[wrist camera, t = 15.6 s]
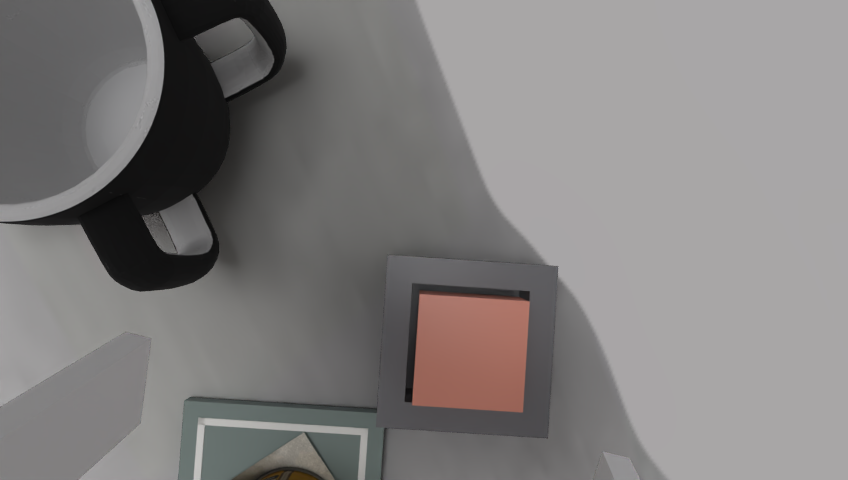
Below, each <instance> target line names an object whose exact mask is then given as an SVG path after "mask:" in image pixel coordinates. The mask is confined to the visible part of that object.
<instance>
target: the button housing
mask: <svg viewBox="0 0 848 480" xmlns="http://www.w3.org/2000/svg"><path fill="white" fill-rule="evenodd" d="M557 278H558V266H548V265H535V264H521V263H506V262H491V261H476V260H461V259H446V258H432V257H417V256H402V255H388V257H387V271H386V286H385V300H384V315H383V329H382V344H381V358H380V373H379V387H378V402H377V416H376V427H379V428H395V429H410V430H426V431H441V432H457V433H472V434H488V435H503V436H519V437H534V438H548V426H549V409H550V393H551V376H552V360H553V343H554V327H555V311H556V294H557ZM419 290H425V291H440V292H455V293H470V294H485V295H500V296H515V297H520V298H523V299H525V300H527V301H530V306H529V322H528V338H527V354H526V370H525V386H524V403H523V412H507V411H492V410H476V409H461V408H446V407H430V406H415V405H412V396H413V379H414V364H415V349H416V334H417V319H418V305H419Z"/></svg>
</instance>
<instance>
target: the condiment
mask: <svg viewBox="0 0 848 480" xmlns="http://www.w3.org/2000/svg"><path fill="white" fill-rule="evenodd" d="M232 480H335V479H334V478H333V476H332V475H331V473H330V472H329V470H328V468H327V467H326V465H325V464H324V462H323V461H322V459H321V458H320V457H319V456H318V454H317V452H316V451H315V449H314V448H313V446H312V445H311V443H310V441H309V440H308V438H307V437H306V435H305V433H302V434H301V435H299V436H298V437H296V438H294V439H293V440H291V441H290V442H288V443H287V444H285V445H284V446H282V447H280V448H279V449H277V450H276V451H274V452H273V453H272V454H270V455H268V456H266V457H265V458H263V459H262V460H260V461H259V462H257V463H256V464H254V465H253V466H251V467H250V468H248V469H247V470H245V471H244V472H242V473H241V474H239V475H238V476H236V477H235V478H233V479H232Z"/></svg>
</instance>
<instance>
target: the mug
mask: <svg viewBox="0 0 848 480" xmlns="http://www.w3.org/2000/svg"><path fill="white" fill-rule="evenodd" d="M234 18H241V19H242V20H243V21H244V22H245V24H246V25H247V26H248V27H249V28H250V29H251V31H252V32H253V34H254V37H253V39H252V40H251V41H250V42H249V43H248V44H246V45H244V46H242V47H240V48H239V49H237V50H235V51H233V52H231V53H230V54H228V55H226V56H224V57H222V58H220V59H218V60H216V61H214V62H212V63H210V62H209V61H208V59H207V58H206V56H205V54H204V53H203V51H202V50H201V48H200V47H199V45H198V44H197V42H196V41H195V39H194V38H193V37H194V36H196V35H198V34H200V33H202V32H204V31H207V30H209V29H211V28H213V27H215V26H217V25H219V24H221V23H224V22H226V21H229V20H231V19H234ZM286 49H287V46H286V37H285V32H284V29H283V26H282V24H281V22H280V20H279V18H278V16H277V14H276V12H275V10H274V9H273V7H272V6H271V4H270V2H269V1H268V0H0V223H6V224H22V225H78V224H81V225H82V227H83V229H84V231H85V233H86V235H87V237H88V239H89V240H90V242H91V244H92V246H93V248H94V249H95V251H96V253H97V255H98V257H99V259H100V260H101V262H102V264H103V265H104V267H105V269H106V270H107V272H108V274H109V275H110V276H111V277H112V278H113V279H114V280H115V281H116V282H118V283H119V284H121V285H123V286H125V287H127V288H129V289H131V290H135V291H140V292H141V291H154V290H164V289H171V288H176V287H180V286H184V285H187V284H190V283H193V282H195V281H197V280H198V279H200V278H202V277H203V276H204V275H206V274H207V273H208V272H209V271H210V270H211V269H212V268H213V266H214V264H215V262H216V260H217V257H218V254H219V242H218V238H217V235H216V233H215V230H214V228H213V226H212V224H211V222H210V220H209V217H208V215H207V213H206V211H205V209H204V207H203V205H202V203H201V201H200V199H199V197H198V195H197V192H198V191H200V190H201V189H203V188H204V187H205V186H206V184H207V183H208V182H209V181H210V180H211V179H212V178H213V176H214V175H215V174H216V173H217V171H218V169H219V167H220V166H221V164H222V162H223V160H224V157H225V154H226V151H227V148H228V144H229V136H230V119H229V109H228V105H227V102H229V101H231V100H233V99H235V98H237V97H239V96H241V95H243V94H245V93H247V92H248V91H250V90H252V89H254V88H256V87H258V86H260V85H262V84H263V83H265V82H267V81H268V80H270V79H271V78H273V77H274V76H275V75H276V74H277V73H278V72H279V70H280V69H281V67H282V65H283V62H284V59H285V54H286ZM155 212H159V215H160V217H161V219H162V221H163V223H164V225H165V227H166V229H167V231H168V233H169V235H170V237H171V239H172V242H173V244H174V246H175V248H176V251H177V253H165V252H163V251H162V250H161V249H160V248H159V247H158V246H157V244H156V242H155V241H154V239H153V237H152V235H151V234H150V232H149V230H148V228H147V226H146V224H145V222H144V220H143V218H142V217H141V216H144V215H148V214H152V213H155Z"/></svg>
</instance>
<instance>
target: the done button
mask: <svg viewBox="0 0 848 480" xmlns="http://www.w3.org/2000/svg"><path fill="white" fill-rule="evenodd" d="M529 306H530V301H527V300H525V299H523V298H520V297H515V296H500V295H485V294H470V293H455V292H440V291H425V290H419V305H418V319H417V334H416V349H415V364H414V379H413V396H412V405H415V406H430V407H446V408H461V409H476V410H492V411H507V412H523V403H524V386H525V370H526V354H527V338H528V322H529Z"/></svg>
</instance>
